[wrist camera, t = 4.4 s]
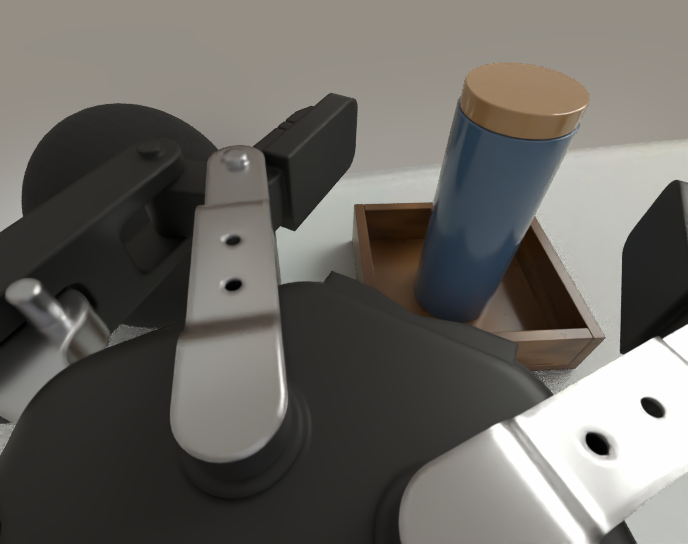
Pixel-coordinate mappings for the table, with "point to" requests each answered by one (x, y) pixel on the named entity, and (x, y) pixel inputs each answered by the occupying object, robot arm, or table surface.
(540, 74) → the canister
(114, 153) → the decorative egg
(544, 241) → the wooden box
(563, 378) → the table surface
